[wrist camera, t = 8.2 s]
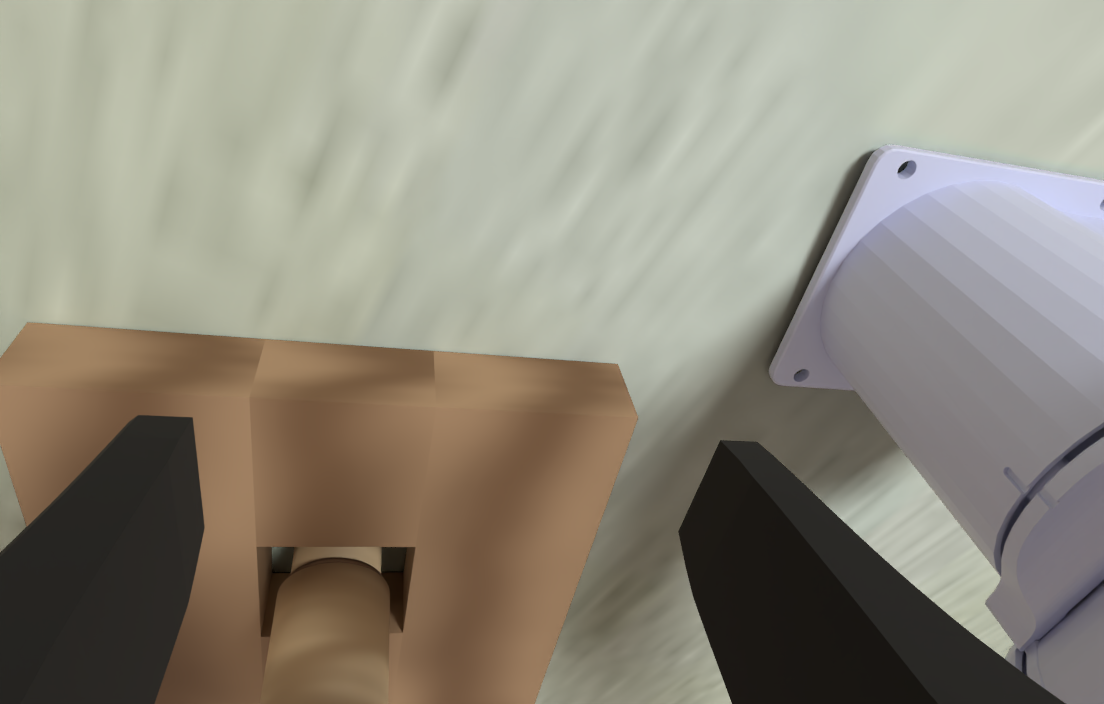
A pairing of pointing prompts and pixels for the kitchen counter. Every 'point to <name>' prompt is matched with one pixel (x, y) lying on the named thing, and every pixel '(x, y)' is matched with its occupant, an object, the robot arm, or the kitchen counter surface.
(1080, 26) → the kitchen counter surface
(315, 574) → the peg
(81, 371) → the board
